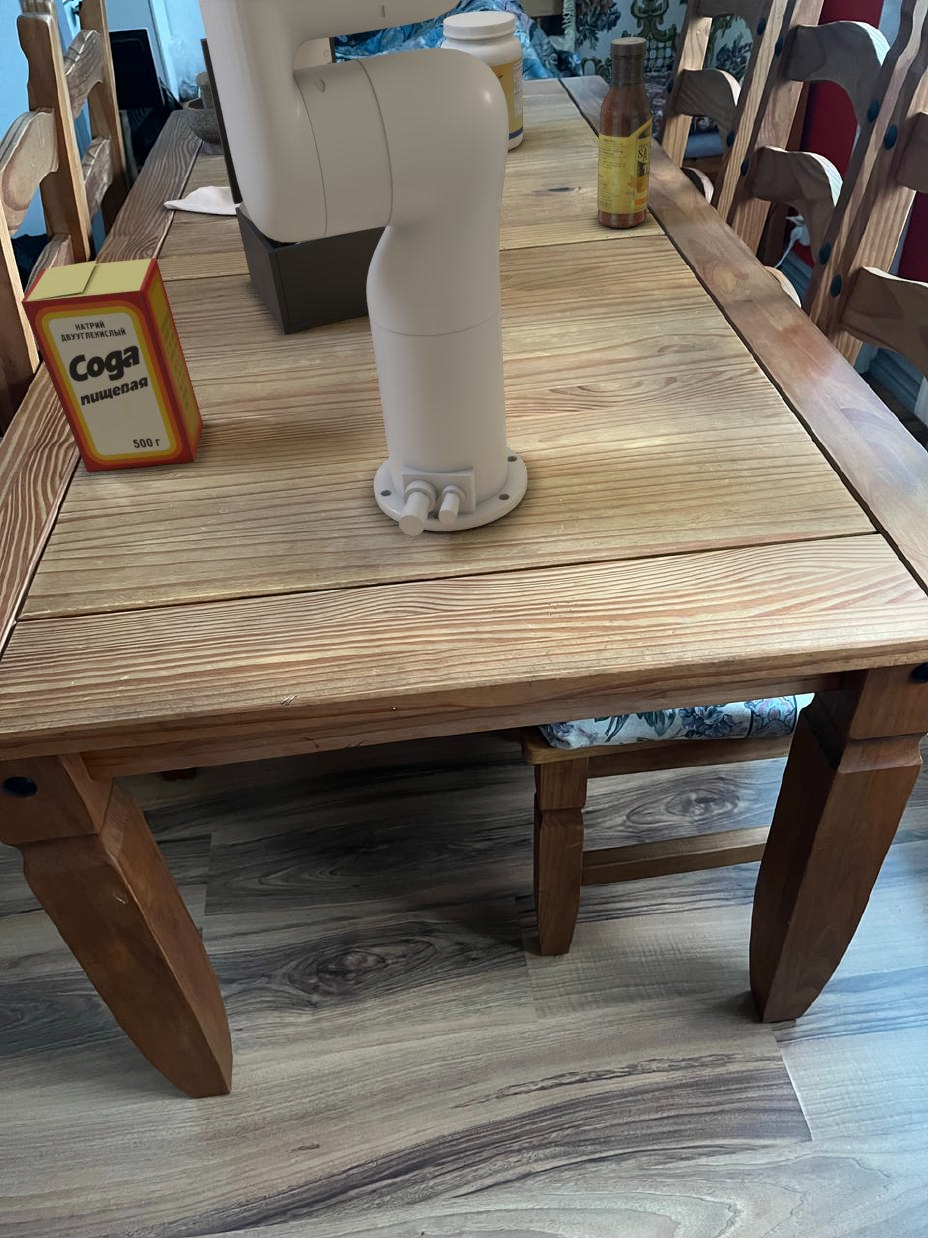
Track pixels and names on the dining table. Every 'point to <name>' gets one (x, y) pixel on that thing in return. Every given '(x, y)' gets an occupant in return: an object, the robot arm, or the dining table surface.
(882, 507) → the dining table surface
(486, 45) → the supplement tub
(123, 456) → the baking soda box
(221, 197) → the cloth
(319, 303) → the dark grey storage bin
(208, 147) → the mortar and pestle
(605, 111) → the sauce bottle
